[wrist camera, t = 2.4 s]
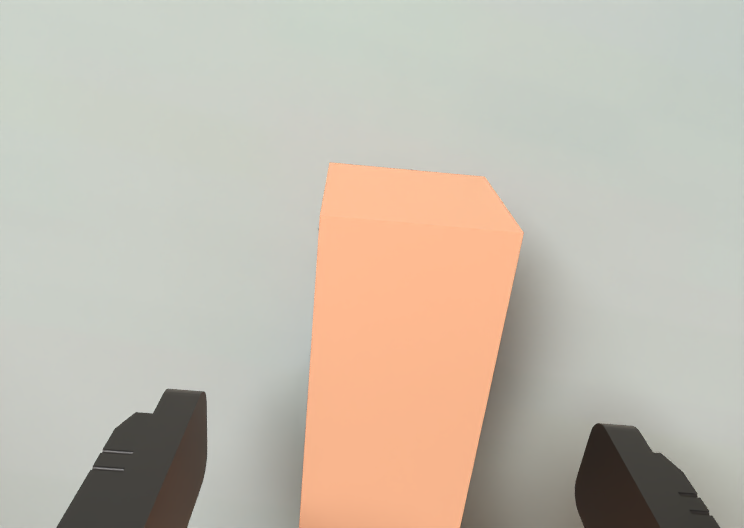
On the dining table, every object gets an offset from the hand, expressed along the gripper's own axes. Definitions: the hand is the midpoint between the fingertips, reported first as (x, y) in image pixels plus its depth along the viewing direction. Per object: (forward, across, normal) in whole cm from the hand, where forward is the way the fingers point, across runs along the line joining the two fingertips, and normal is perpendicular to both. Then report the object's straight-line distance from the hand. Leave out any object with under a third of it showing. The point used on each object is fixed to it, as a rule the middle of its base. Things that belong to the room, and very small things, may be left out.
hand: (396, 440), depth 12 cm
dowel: (+2, 0, +3) cm, 4 cm away
